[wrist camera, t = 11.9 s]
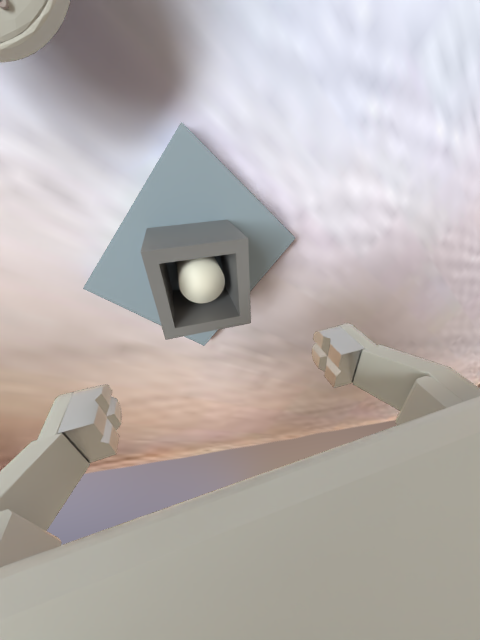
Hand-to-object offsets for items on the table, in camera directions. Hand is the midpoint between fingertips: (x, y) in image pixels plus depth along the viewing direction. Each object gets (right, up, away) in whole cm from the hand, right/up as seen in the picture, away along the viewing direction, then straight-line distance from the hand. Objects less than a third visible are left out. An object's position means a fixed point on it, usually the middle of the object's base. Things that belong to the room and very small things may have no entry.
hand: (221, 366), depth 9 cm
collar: (-3, +7, +11) cm, 13 cm away
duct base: (-3, +8, +12) cm, 15 cm away
